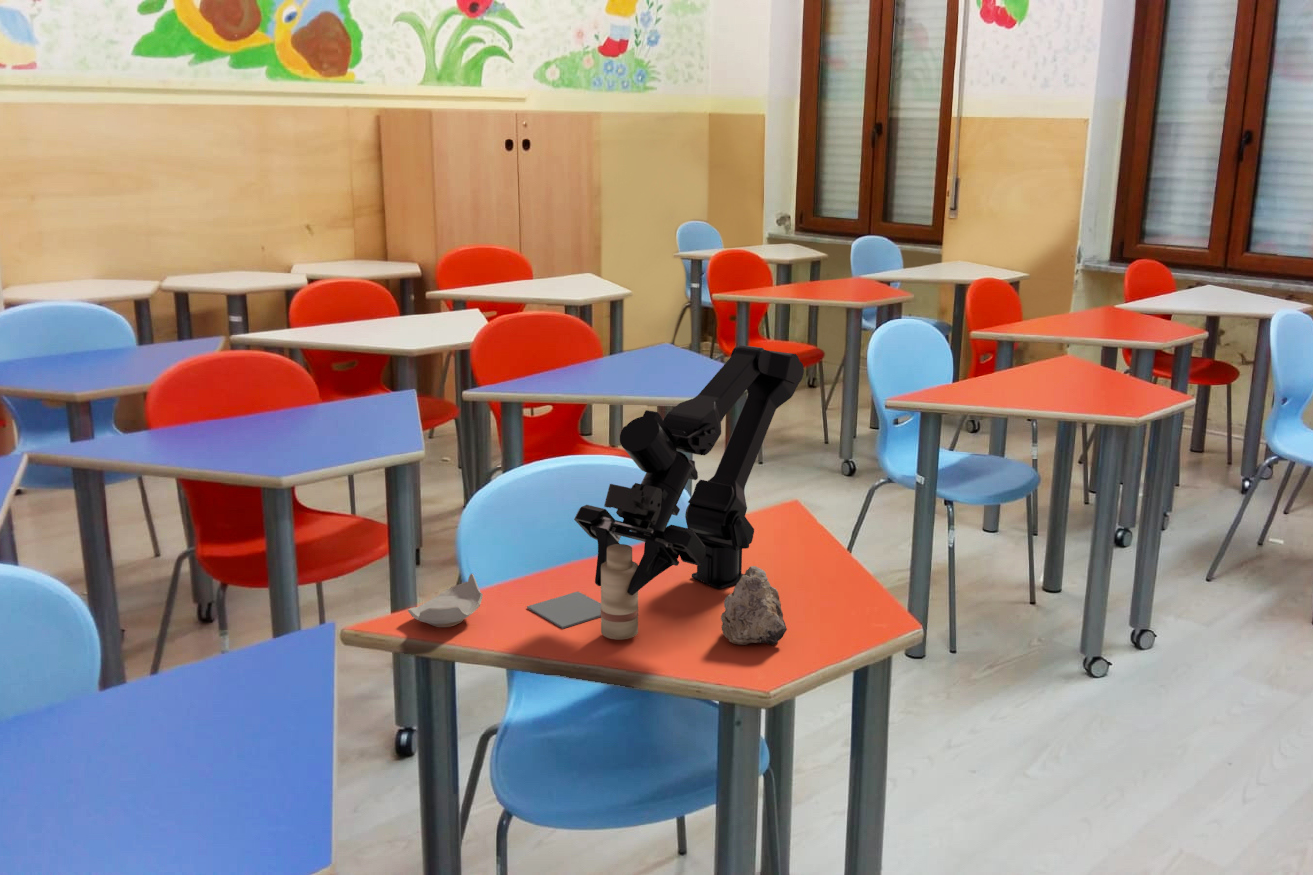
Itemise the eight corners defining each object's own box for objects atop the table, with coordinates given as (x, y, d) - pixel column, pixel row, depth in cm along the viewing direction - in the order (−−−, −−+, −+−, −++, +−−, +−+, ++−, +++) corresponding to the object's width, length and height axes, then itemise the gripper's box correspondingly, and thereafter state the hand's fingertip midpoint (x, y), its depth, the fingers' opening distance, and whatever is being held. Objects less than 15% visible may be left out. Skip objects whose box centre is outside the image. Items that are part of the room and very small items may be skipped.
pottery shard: (468, 601, 163) (467, 569, 162) (502, 629, 154) (501, 595, 153) (401, 616, 157) (399, 583, 156) (431, 646, 148) (430, 611, 147)
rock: (720, 666, 149) (755, 631, 143) (691, 595, 155) (724, 559, 148) (770, 658, 154) (806, 624, 148) (740, 590, 159) (773, 555, 153)
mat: (577, 593, 166) (577, 591, 166) (614, 612, 160) (614, 610, 159) (527, 608, 161) (527, 606, 161) (562, 628, 154) (562, 626, 154)
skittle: (622, 620, 155) (622, 539, 152) (645, 632, 151) (646, 549, 148) (593, 630, 152) (592, 547, 149) (616, 642, 148) (615, 558, 145)
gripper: (581, 448, 154) (531, 546, 148) (696, 471, 143) (646, 578, 137) (615, 489, 162) (569, 583, 156) (726, 513, 152) (680, 615, 146)
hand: (613, 589), depth 148 cm, fingers closed on skittle, 5 cm apart
